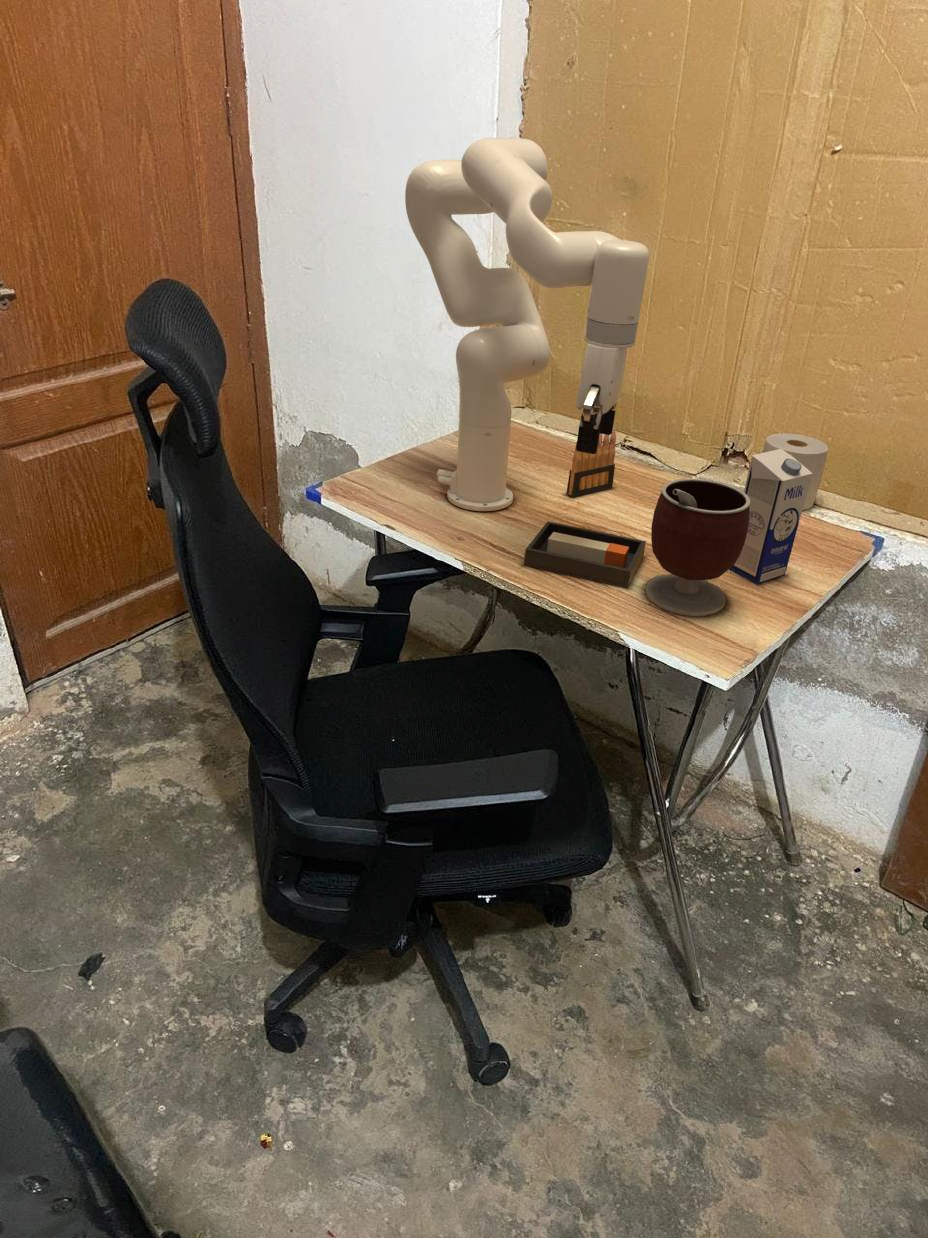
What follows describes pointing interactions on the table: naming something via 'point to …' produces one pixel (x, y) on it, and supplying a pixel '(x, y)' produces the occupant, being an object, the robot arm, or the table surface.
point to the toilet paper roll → (802, 457)
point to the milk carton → (772, 514)
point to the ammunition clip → (593, 469)
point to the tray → (579, 567)
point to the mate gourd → (696, 543)
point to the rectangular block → (588, 549)
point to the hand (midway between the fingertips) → (594, 442)
